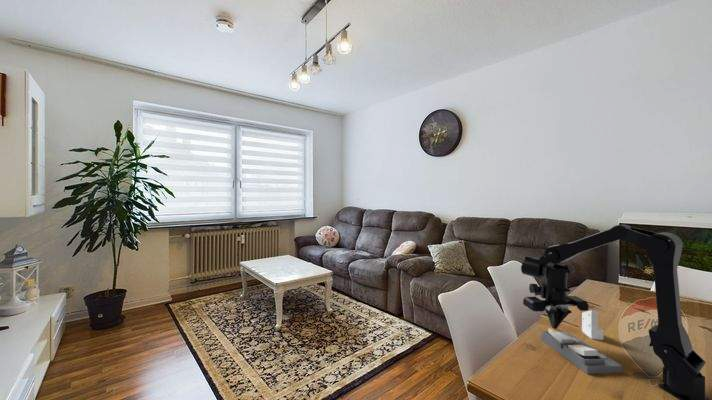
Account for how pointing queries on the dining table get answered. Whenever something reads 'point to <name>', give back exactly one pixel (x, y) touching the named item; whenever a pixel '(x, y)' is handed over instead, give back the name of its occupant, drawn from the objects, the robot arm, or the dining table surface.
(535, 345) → the dining table surface
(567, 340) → the far rocker
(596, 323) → the white wedge bracket
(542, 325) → the dining table surface
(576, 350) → the near rocker
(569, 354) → the grey stepped stand
